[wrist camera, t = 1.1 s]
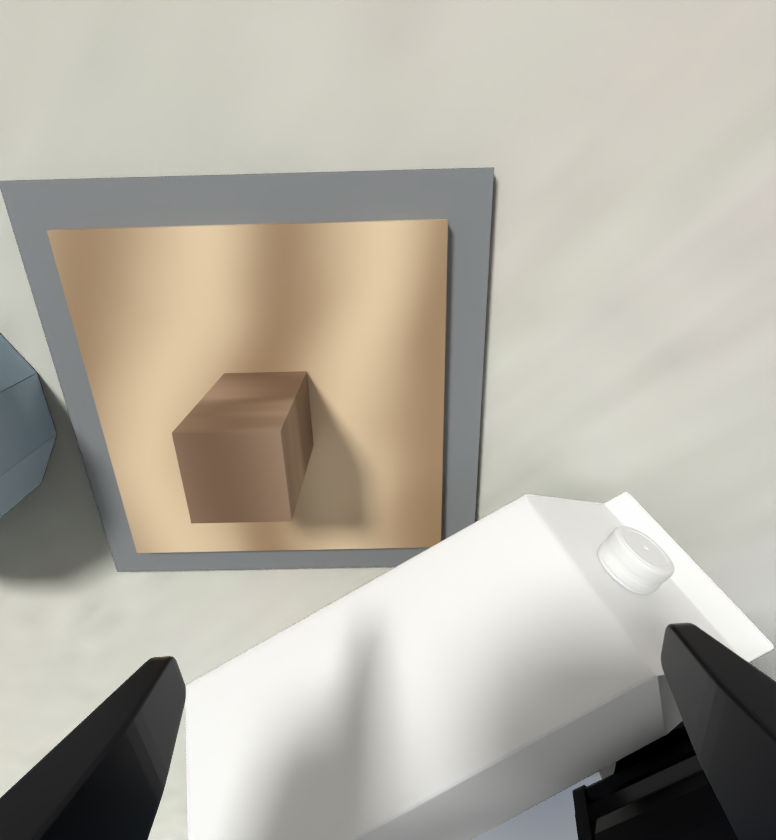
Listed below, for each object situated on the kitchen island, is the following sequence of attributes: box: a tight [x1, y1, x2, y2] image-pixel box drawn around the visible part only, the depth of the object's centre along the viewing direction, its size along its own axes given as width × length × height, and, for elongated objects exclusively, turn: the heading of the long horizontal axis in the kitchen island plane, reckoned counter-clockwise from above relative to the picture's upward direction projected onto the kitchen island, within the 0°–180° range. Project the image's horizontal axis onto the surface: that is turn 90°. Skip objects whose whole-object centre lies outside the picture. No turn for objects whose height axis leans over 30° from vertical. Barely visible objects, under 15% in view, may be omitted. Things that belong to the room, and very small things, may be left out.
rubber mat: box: [0, 168, 494, 572], centre depth 20 cm, size 16×16×1 cm
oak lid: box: [47, 219, 448, 553], centre depth 17 cm, size 13×13×6 cm
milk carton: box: [186, 492, 774, 840], centre depth 19 cm, size 7×7×19 cm
